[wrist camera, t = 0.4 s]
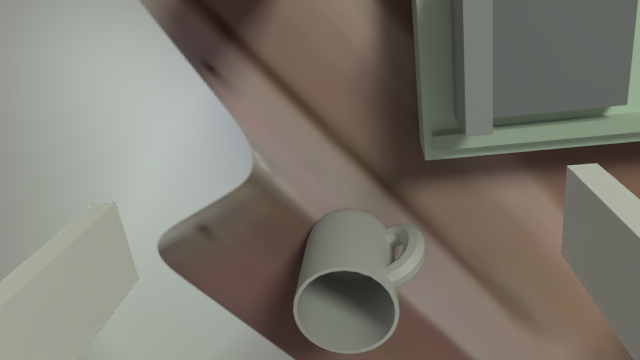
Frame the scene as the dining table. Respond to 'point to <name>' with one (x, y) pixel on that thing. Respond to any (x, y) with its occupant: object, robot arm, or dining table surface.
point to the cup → (354, 280)
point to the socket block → (508, 132)
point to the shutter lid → (538, 57)
